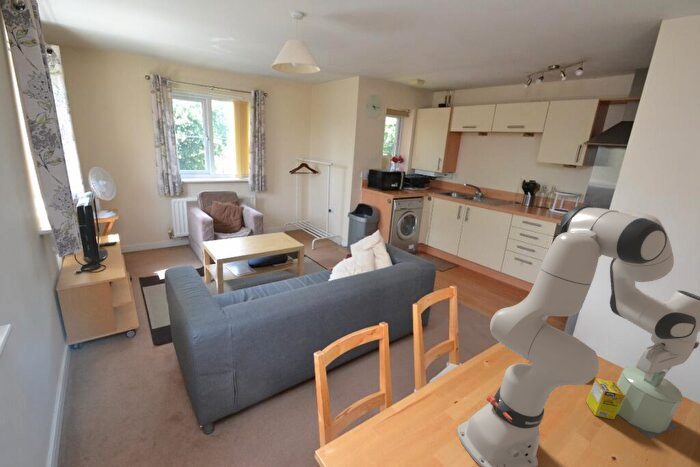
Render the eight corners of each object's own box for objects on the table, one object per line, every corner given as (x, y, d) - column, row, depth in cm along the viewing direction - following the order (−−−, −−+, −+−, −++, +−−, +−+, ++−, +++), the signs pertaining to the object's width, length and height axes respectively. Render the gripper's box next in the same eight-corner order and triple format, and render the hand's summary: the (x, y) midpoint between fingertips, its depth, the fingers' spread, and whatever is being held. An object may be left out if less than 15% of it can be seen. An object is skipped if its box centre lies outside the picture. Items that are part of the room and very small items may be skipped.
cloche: (649, 437, 98) (672, 392, 92) (601, 401, 110) (619, 359, 104) (675, 425, 103) (699, 382, 97) (626, 392, 115) (645, 351, 109)
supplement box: (614, 421, 103) (626, 395, 99) (593, 417, 104) (604, 391, 100) (604, 407, 108) (615, 381, 105) (584, 402, 109) (595, 377, 106)
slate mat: (649, 440, 97) (650, 439, 97) (598, 401, 110) (599, 400, 110) (677, 427, 103) (677, 426, 102) (625, 392, 116) (626, 391, 116)
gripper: (664, 353, 91) (646, 391, 95) (703, 342, 98) (684, 378, 102) (639, 340, 96) (622, 376, 101) (677, 330, 103) (660, 364, 108)
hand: (654, 377), depth 102 cm, fingers open, 5 cm apart
